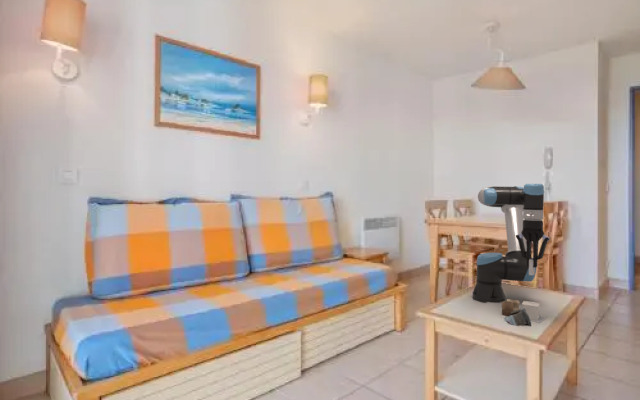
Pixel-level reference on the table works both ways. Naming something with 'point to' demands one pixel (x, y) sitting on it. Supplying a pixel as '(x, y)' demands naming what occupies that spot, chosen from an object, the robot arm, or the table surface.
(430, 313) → the table surface
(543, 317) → the mat
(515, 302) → the beech cube
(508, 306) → the walnut cylinder
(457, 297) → the table surface
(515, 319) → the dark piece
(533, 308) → the plain block
